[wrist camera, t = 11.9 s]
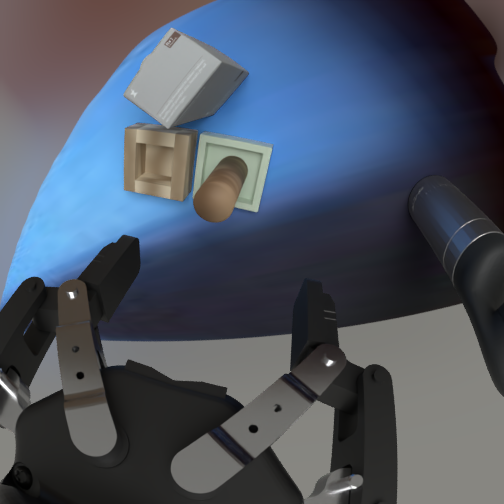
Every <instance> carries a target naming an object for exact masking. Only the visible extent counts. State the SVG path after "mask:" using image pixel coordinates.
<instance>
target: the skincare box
mask: <svg viewBox="0 0 504 504" xmlns="http://www.w3.org/2000/svg"><path fill="white" fill-rule="evenodd" d="M248 74H249V72H248V71H247V70H245V69H244V68H243V67H241V66H240V65H239V64H238V63H236V62H235V61H233V60H232V59H231V58H229V57H228V56H226V55H225V54H223V53H222V52H220V51H219V50H217V49H215V48H214V47H212V46H210V45H208V44H206V43H204V42H202V41H199V40H197V39H195V38H193V37H190V36H188V35H186V34H184V33H182V32H180V31H178V30H175V29H174V28H170V30H169V31H168V32H167V33H166V35H165V36H164V37H163V38H162V40H161V41H160V42H159V44H158V45H157V46H156V48H155V49H154V50H153V52H152V53H151V54H149V55H148V56H147V57H146V58H145V59H144V60H143V61H142V63H141V66H140V70H139V71H138V72H137V74H136V75H135V77H134V78H133V80H132V81H131V83H130V85H129V86H128V88H127V89H126V91H125V93H124V97H125V98H127V99H128V100H129V101H131V102H132V103H133V104H135V105H136V106H138V107H139V108H140V109H142V110H143V111H144V112H146V113H147V114H149V115H150V116H151V117H153V118H154V119H155V120H157V121H158V122H159V123H161V124H162V125H163V126H165V127H166V128H167V129H169V128H171V127H175V126H178V125H181V124H184V123H187V122H191V121H194V120H197V119H201V118H204V117H208V116H212V115H214V114H215V113H216V112H217V110H218V109H219V108H220V107H221V106H222V105H223V104H224V103H225V101H226V100H227V99H228V98H229V97H230V96H231V95H232V94H233V92H234V91H235V90H236V89H237V88H238V86H239V85H240V84H241V83H242V82H243V80H244V79H245V78H246V77H247V76H248Z"/></svg>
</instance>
